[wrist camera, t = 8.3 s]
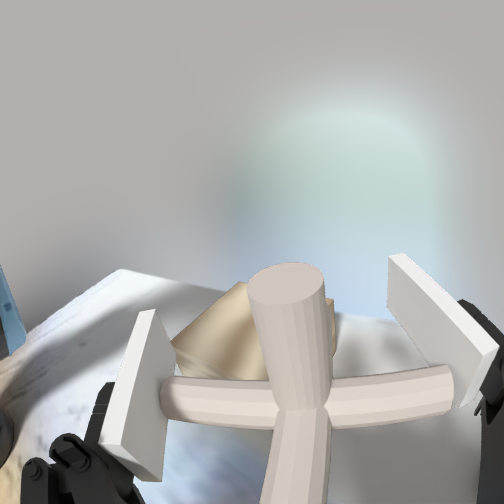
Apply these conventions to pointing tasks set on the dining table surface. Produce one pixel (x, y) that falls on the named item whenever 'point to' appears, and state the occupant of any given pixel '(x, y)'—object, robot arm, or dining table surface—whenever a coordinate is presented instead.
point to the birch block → (226, 341)
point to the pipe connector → (302, 387)
